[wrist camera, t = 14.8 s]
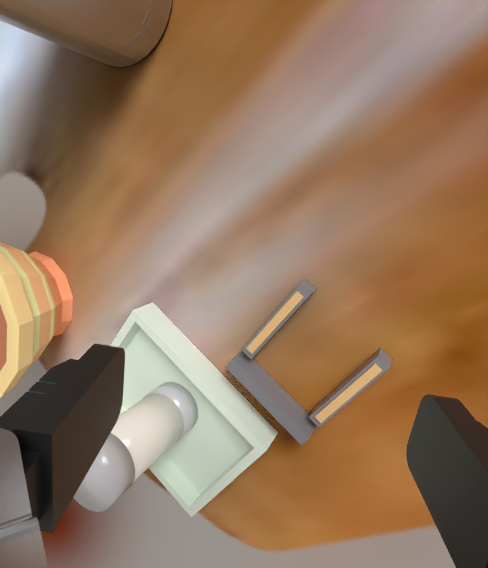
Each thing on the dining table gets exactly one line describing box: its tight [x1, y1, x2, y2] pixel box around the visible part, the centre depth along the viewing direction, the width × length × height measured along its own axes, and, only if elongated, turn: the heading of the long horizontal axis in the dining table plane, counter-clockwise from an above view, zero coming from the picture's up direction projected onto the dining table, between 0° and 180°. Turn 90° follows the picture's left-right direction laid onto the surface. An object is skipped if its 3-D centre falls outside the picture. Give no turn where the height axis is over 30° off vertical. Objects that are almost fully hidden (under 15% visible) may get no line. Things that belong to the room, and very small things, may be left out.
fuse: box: [73, 382, 198, 512], centre depth 30 cm, size 5×5×10 cm
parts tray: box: [110, 303, 278, 517], centre depth 34 cm, size 15×11×2 cm
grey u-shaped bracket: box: [226, 280, 392, 445], centre depth 28 cm, size 8×9×2 cm
